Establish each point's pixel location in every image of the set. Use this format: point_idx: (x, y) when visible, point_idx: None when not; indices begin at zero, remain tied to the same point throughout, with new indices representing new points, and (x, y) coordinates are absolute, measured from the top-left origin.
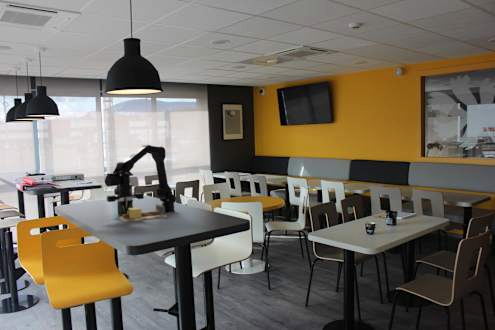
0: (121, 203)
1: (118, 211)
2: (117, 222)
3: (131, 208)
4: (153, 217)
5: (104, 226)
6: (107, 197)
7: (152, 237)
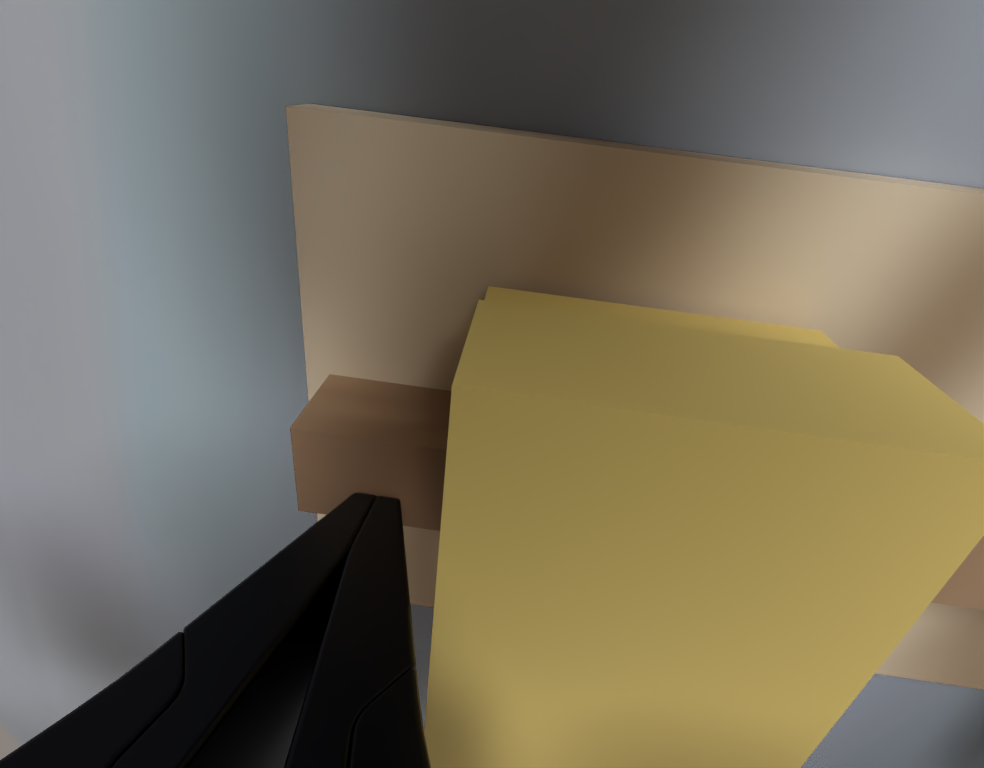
0: None
1: None
2: (220, 495)
3: (589, 589)
4: (887, 667)
5: (29, 609)
6: None
7: None
